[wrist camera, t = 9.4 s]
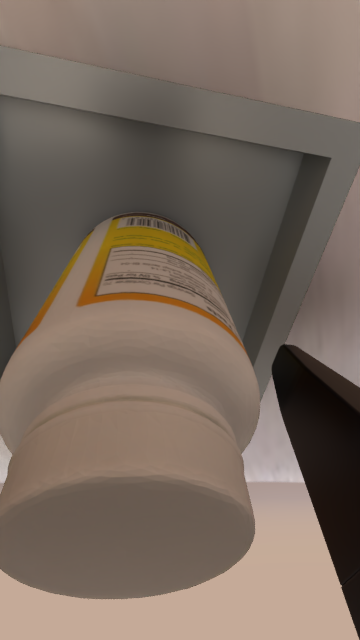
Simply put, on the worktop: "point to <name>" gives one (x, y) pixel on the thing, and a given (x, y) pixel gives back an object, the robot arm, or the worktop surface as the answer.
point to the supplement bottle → (128, 422)
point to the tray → (165, 186)
